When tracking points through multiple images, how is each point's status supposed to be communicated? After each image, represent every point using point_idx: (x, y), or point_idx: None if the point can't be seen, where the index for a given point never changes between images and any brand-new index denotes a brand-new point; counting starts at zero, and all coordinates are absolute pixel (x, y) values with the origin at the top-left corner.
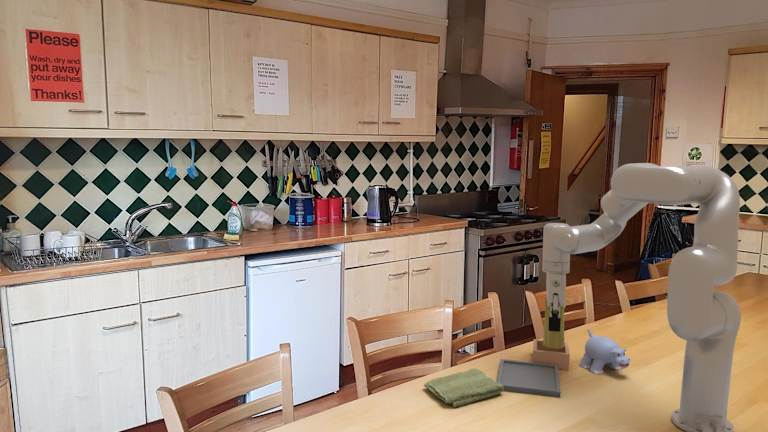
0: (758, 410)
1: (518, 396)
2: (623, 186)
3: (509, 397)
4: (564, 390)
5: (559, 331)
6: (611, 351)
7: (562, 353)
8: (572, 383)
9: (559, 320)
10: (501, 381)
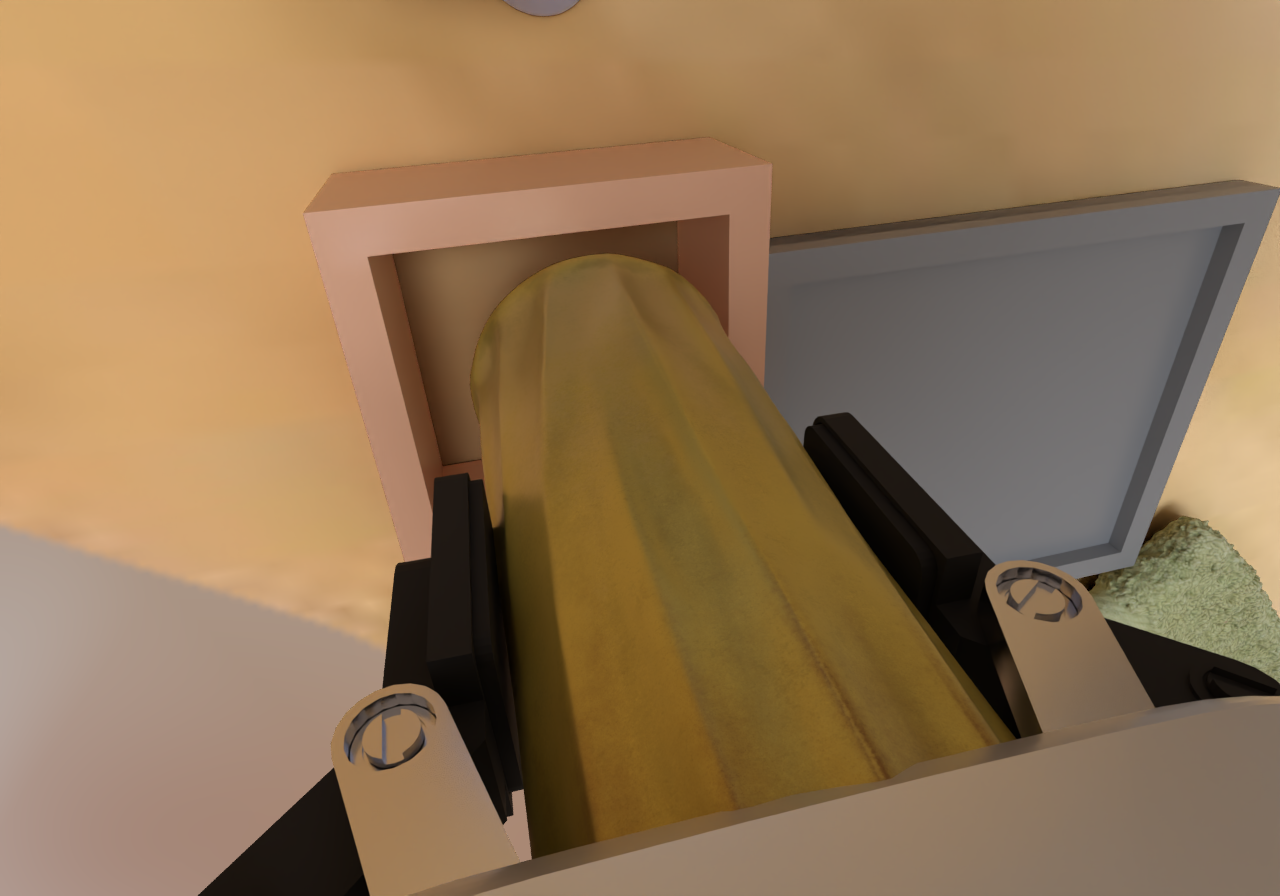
0: None
1: (1190, 428)
2: None
3: (1196, 467)
4: (1133, 155)
5: (839, 415)
6: None
7: (757, 251)
8: (1008, 90)
9: (946, 534)
10: (1052, 553)
